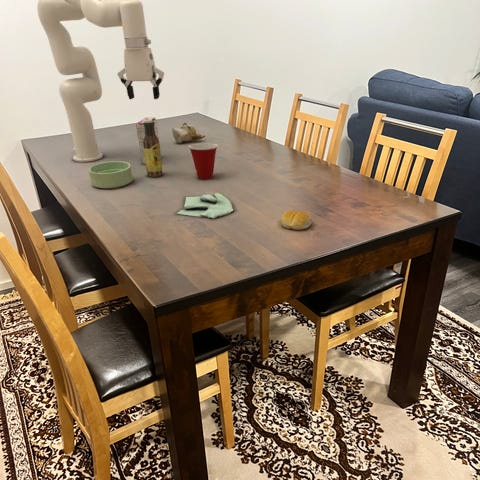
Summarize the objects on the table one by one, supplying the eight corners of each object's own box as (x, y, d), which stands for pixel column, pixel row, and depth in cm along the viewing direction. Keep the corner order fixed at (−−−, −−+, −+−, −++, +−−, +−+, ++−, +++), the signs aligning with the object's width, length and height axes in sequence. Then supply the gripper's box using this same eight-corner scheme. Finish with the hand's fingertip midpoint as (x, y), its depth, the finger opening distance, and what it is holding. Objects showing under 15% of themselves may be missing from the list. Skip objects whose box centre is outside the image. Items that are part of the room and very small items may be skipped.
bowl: (83, 184, 181) (80, 168, 178) (117, 174, 191) (114, 159, 187) (107, 192, 173) (104, 176, 169) (141, 181, 182) (138, 165, 178)
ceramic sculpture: (166, 122, 225) (194, 119, 232) (168, 141, 230) (195, 138, 237) (177, 126, 218) (205, 123, 225) (178, 146, 222) (206, 142, 229)
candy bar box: (150, 156, 210) (145, 117, 200) (161, 157, 209) (156, 117, 199) (141, 164, 201) (135, 123, 191) (152, 164, 200) (146, 123, 190)
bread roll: (288, 217, 147) (288, 205, 145) (314, 222, 143) (315, 210, 141) (275, 227, 142) (275, 214, 140) (302, 232, 138) (302, 219, 135)
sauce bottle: (159, 178, 184) (151, 123, 173) (144, 177, 186) (136, 123, 175) (166, 173, 189) (159, 119, 178) (151, 172, 191) (144, 119, 180)
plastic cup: (223, 173, 186) (221, 141, 179) (213, 182, 178) (211, 149, 171) (198, 171, 189) (195, 140, 183) (186, 180, 181) (183, 147, 174)
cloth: (216, 222, 146) (216, 214, 145) (161, 210, 156) (160, 203, 155) (250, 200, 160) (250, 193, 159) (198, 191, 170) (197, 184, 169)
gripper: (164, 42, 163) (170, 96, 173) (118, 43, 167) (126, 96, 176) (155, 44, 157) (162, 100, 167) (108, 45, 161) (117, 100, 170)
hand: (144, 98), depth 172 cm, fingers open, 9 cm apart
